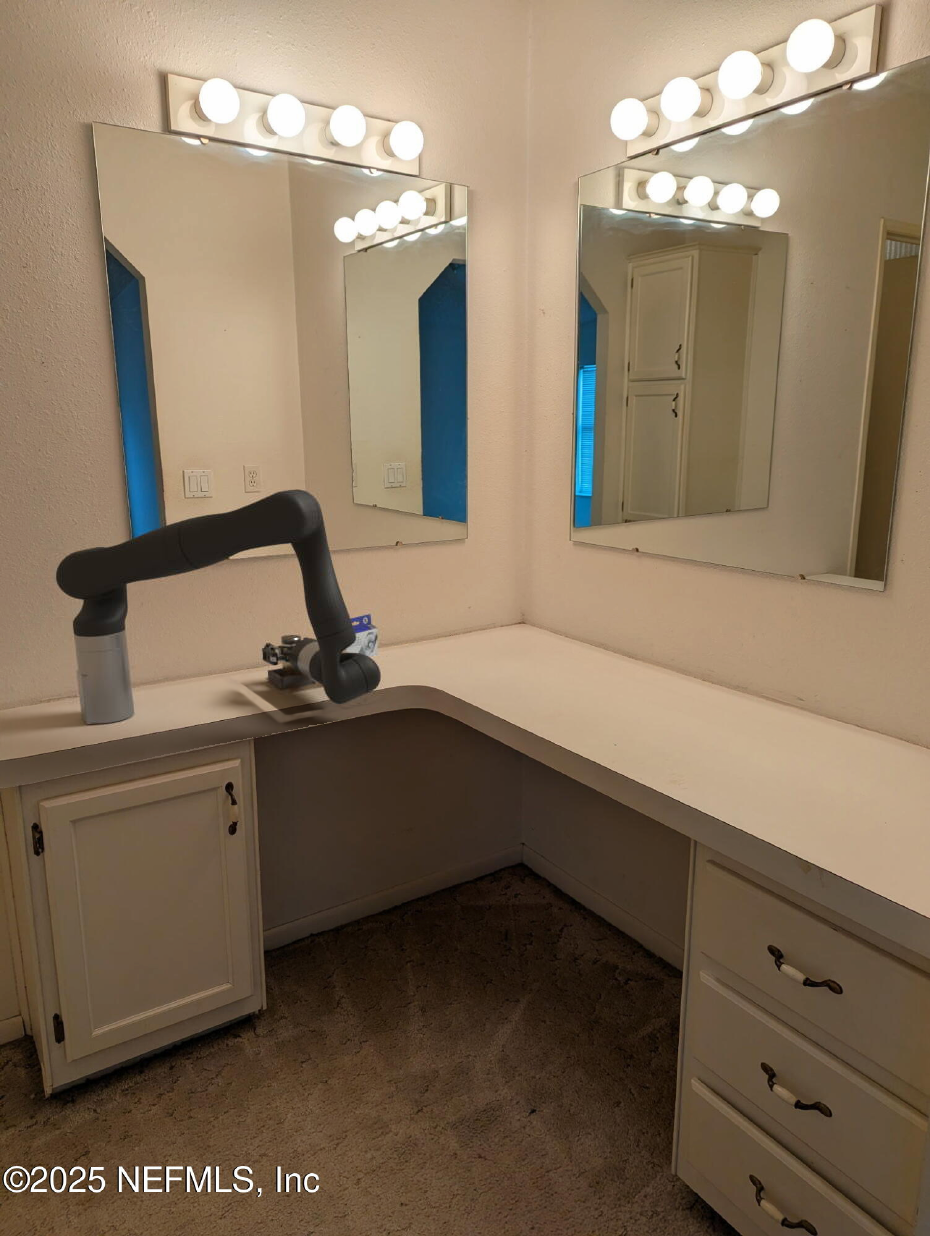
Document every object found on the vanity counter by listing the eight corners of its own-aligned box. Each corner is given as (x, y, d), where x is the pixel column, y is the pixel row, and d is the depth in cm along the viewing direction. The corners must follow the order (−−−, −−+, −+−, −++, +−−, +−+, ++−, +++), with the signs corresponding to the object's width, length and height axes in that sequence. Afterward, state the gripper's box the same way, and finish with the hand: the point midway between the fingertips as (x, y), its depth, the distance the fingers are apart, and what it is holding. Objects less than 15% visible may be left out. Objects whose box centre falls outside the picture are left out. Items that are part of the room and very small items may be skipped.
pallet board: (287, 700, 175) (286, 681, 174) (263, 684, 187) (262, 667, 186) (368, 685, 185) (367, 667, 184) (341, 670, 197) (340, 654, 196)
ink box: (346, 671, 196) (343, 622, 194) (338, 669, 198) (336, 621, 195) (379, 660, 205) (377, 614, 203) (372, 659, 207) (370, 612, 204)
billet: (286, 685, 180) (285, 639, 178) (279, 681, 183) (278, 636, 181) (304, 683, 182) (303, 637, 180) (297, 679, 185) (296, 634, 184)
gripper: (347, 637, 172) (316, 623, 186) (281, 647, 165) (252, 632, 178) (349, 672, 174) (318, 656, 187) (283, 684, 166) (255, 666, 180)
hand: (286, 644), depth 183 cm, fingers open, 8 cm apart
